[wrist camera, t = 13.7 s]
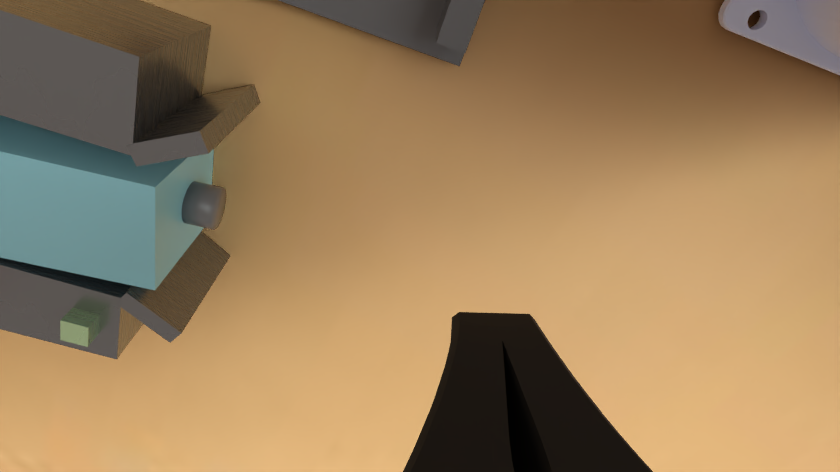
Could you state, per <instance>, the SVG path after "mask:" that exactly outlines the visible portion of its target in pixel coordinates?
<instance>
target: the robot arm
mask: <svg viewBox="0 0 840 472" xmlns="http://www.w3.org/2000/svg"><path fill="white" fill-rule="evenodd" d="M755 11H759V12H760V18H759V21H758V22H757V23H756V24H755V25H754V26H752V27H750V28H749V27H748V19H749V17H750V15H751V14H752V13H753V12H755ZM718 20H719V23H720V25H721V26H722V27H723V28H725V29H726V30H728V31H731V32H733V33H736V34H738V35H741V36H743V37H746V38H748V39H751V40H753V41H756V42H758V43H761V44H763V45H766V46H768V47H771V48H773V49H776V50H778V51H780V52H783V53H785V54H788V55H790V56H793V57H795V58H798V59H800V60H803V61H805V62H808V63H810V64H813V65H815V66H818V67H820V68H823V69H825V70H828V71H830V72H832V73H835V74H837V75H840V0H724V2H723V4H722V6H721V8H720V11H719V13H718ZM403 472H653V471H652V470H651V469H650V468H649V467H648V466H647V465H646V464H645V463H644V461H643V460H642V459H641V458H640V457H639V456H638V455H637V454H636V452H635V451H634V450H633V449H632V448H631V447H630V446H629V444H628V443H627V442H626V441H625V440H624V439H623V437H622V436H621V435H620V434H619V433H618V432H617V431H616V429H615V428H614V427H613V426H612V424H611V423H610V422H609V421H608V420H607V418H606V417H605V416H604V415H603V414H602V412H601V411H600V410H599V408H598V407H597V406H596V405H595V403H594V402H593V401H592V399H591V398H590V397H589V396H588V394H587V393H586V392H585V391H584V389H583V388H582V387H581V385H580V384H579V383H578V381H577V380H576V379H575V377H574V376H573V375H572V373H571V372H570V371H569V369H568V368H567V367H566V365H565V364H564V362H563V361H562V360H561V358H560V357H559V355H558V354H557V352H556V351H555V350H554V348H553V347H552V345H551V344H550V342H549V341H548V339H547V338H546V336H545V335H544V333H543V332H542V330H541V329H540V327H539V326H538V324H537V323H536V321H535V320H534V319H533V317H532V316H531V315H530V314H507V313H469V312H459V313H457V314H456V315H455V316H453V317H452V330H451V343H450V348H449V353H448V357H447V360H446V364H445V368H444V371H443V374H442V377H441V380H440V383H439V386H438V389H437V392H436V395H435V399H434V401H433V404H432V407H431V409H430V412H429V414H428V416H427V419H426V421H425V424H424V426H423V428H422V431H421V433H420V435H419V438H418V440H417V443H416V445H415V447H414V449H413V452H412V454H411V456H410V458H409V460H408V462H407V464H406V467H405V469H404V471H403Z"/></svg>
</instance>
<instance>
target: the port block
mask: <svg viewBox="0 0 840 472" xmlns="http://www.w3.org/2000/svg"><path fill="white" fill-rule="evenodd" d="M210 28H211V25H208V24H205V23H202V22H199V21H197V20H194V19H191V18H188V17H185V16H182V15H180V14H177V13H174V12H171V11H168V10H165V9H162V8H160V7H157V6H154V5H151V4H148V3H145V2H143V1H140V0H0V115H2V116H5V117H8V118H11V119H15V120H18V121H21V122H24V123H27V124H31V125H34V126H37V127H40V128H44V129H47V130H50V131H53V132H56V133H60V134H63V135H66V136H69V137H72V138H76V139H79V140H82V141H85V142H88V143H92V144H95V145H98V146H101V147H104V148H108V149H111V150H114V151H117V152H121V153H124V154H127V155H130V156H132V159H133V161H134V163H135V165H136V167H137V166H142V165H148V164H153V163H159V162H165V161H170V160H176V159H181V158H187V157H192V156H198V155H203V154H209V153H210V152H211V151H212V150H213V149H214V148H215V147H216V146H217V145H218V144H219V143H220V142H221V141H222V140H223V139H224V138H225V137H226V136H227V135H228V134H229V133H230V132H231V131H232V130H233V129H234V128H235V127H236V126H237V125H238V124H239V123H240V122H241V121H242V120H243V119H244V118H245V117H246V116H247V115H248V114H249V113H250V112H251V111H252V110H253V109H254V108H255V107H256V106H257V105H258V104H259V103H260V101H259V98H258V95H257V92H256V89H255V86H254V85H249V86H244V87H239V88H234V89H229V90H223V91H218V92H213V93H208V94H203V95H201V94H202V87H203V80H204V72H205V65H206V58H207V50H208V43H209V36H210ZM229 257H230V255H229V254H228V253H226V252H225V251H224V250H223V249H222V248H220V247H219V246H218V245H217V244H216V243H214V242H213V241H212V240H211V239H210V238H208V237H207V236H206V235H205V234H204V233H202V232H200V233H199V235H198V236H197V237H196V239H195V240H194V241H193V242H192V244H191V245H190V246H189V248H188V249H187V250H186V251H185V253H184V254H183V255H182V257H181V258H180V259H179V260H178V262H177V263H176V264H175V266H174V267H173V268H172V269H171V271H170V272H169V273H168V275H167V276H166V277H165V278H164V280H163V281H162V282H161V284H160V285H159V286H158V287H157V289H156V290H151V289H146V288H141V287H137V286H132V285H127V284H122V283H118V282H113V281H108V280H104V279H99V278H94V277H90V276H85V275H80V274H75V273H71V272H66V271H61V270H57V269H52V268H47V267H42V266H38V265H33V264H28V263H24V262H19V261H14V260H10V259H5V258H0V329H2V330H6V331H10V332H14V333H17V334H21V335H25V336H29V337H33V338H37V339H41V340H44V341H48V342H52V343H56V344H60V345H64V346H68V347H71V348H75V349H79V350H83V351H87V352H91V353H95V354H98V355H102V356H106V357H110V358H114V359H117V358H118V357H119V356H120V354H121V353H122V352H123V350H124V349H125V348H126V346H127V345H128V344H129V342H130V341H131V340H132V338H133V337H134V335H135V334H136V333H137V331H138V330H139V329H140V327H141V326H142V325H143V324H145V325H146V326H148V327H149V328H150V329H152V330H153V331H155V332H156V333H157V334H159V335H160V336H162V337H163V338H164V339H166V340H167V341H168V342H171V341H173V340H174V339H175V338H176V337H177V336H179V335H180V334H181V333H182V331H183V330H184V328H185V327H186V325H187V324H188V322H189V320H190V319H191V317H192V316H193V314H194V313H195V311H196V309H197V308H198V306H199V305H200V303H201V302H202V300H203V298H204V297H205V295H206V294H207V292H208V290H209V289H210V287H211V286H212V284H213V283H214V281H215V279H216V278H217V276H218V275H219V273H220V272H221V270H222V268H223V267H224V265H225V264H226V262H227V260H228V259H229Z"/></svg>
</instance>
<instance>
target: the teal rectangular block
mask: <svg viewBox="0 0 840 472" xmlns="http://www.w3.org/2000/svg"><path fill="white" fill-rule="evenodd" d="M213 156H214V149H213V150H212V151H211V152H210V153H209V154H203V155H198V156H192V157H187V158H181V159H176V160H170V161H165V162H159V163H153V164H148V165H142V166H137V167H136V165H135V163H134V161H133V159H132V156H130V155H127V154H124V153H121V152H117V151H114V150H111V149H108V148H104V147H101V146H98V145H95V144H92V143H88V142H85V141H82V140H79V139H76V138H72V137H69V136H66V135H63V134H60V133H56V132H53V131H50V130H47V129H44V128H40V127H37V126H34V125H31V124H27V123H24V122H21V121H18V120H15V119H11V118H8V117H5V116H2V115H0V258H5V259H10V260H14V261H19V262H24V263H28V264H33V265H38V266H42V267H47V268H52V269H57V270H61V271H66V272H71V273H75V274H80V275H85V276H90V277H94V278H99V279H104V280H108V281H113V282H118V283H122V284H127V285H132V286H137V287H141V288H146V289H151V290H156V289H157V287H158V286H159V285H160V284H161V282H162V281H163V280H164V278H165V277H166V276H167V275H168V273H169V272H170V271H171V269H172V268H173V267H174V266H175V264H176V263H177V262H178V260H179V259H180V258H181V257H182V255H183V254H184V253H185V251H186V250H187V249H188V248H189V246H190V245H191V244H192V242H193V241H194V240H195V239H196V237H197V236H198V235H199V233H200V232H201V231H202V230H203V228H208V229H213V230H215V229H216V228H217V227H218V225H219V223H220V221H221V219H222V216H223V213H224V209H225V204H226V190H225V188H222V187H218V186H214V185H212V173H213Z"/></svg>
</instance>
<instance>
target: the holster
mask: <svg viewBox="0 0 840 472" xmlns="http://www.w3.org/2000/svg"><path fill="white" fill-rule="evenodd" d="M279 1H282V2H284V3H287V4H290V5H293V6H295V7H298V8H301V9H304V10H306V11H309V12H312V13H315V14H317V15H320V16H323V17H326V18H328V19H331V20H334V21H337V22H339V23H342V24H345V25H348V26H350V27H353V28H356V29H359V30H361V31H364V32H367V33H370V34H372V35H375V36H378V37H381V38H383V39H386V40H389V41H391V42H394V43H397V44H400V45H402V46H405V47H408V48H411V49H413V50H416V51H419V52H422V53H424V54H427V55H430V56H433V57H435V58H438V59H441V60H444V61H446V62H449V63H452V64H455V65H457V66H460V64H461V61H462V58H463V56H464V53H465V52H466V50H467V47H468V44H469V42H470V39H471V36H472V34H473V31H474V28H475V26H476V23H477V20H478V18H479V15H480V12H481V10H482V7H483V4H484V2H485V0H279Z"/></svg>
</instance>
